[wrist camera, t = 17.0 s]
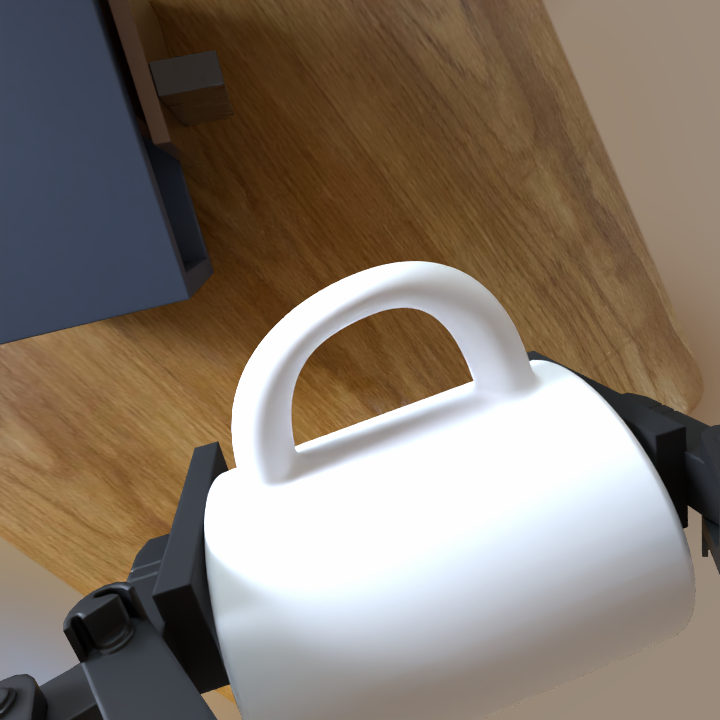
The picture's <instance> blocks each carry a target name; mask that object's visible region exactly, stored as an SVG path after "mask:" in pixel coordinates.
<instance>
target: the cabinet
mask: <svg viewBox="0 0 720 720" xmlns="http://www.w3.org/2000/svg"><path fill="white" fill-rule="evenodd" d="M213 273H214V271H213V268H212V264H211V261H210V258H209V254H208V251H207V248H206V245H205V241H204V238H203V235H202V231H201V228H200V225H199V222H198V218H197V215H196V212H195V209H194V205H193V202H192V199H191V195H190V192H189V189H188V186H187V182H186V179H185V176H184V172H183V169H182V166H181V163H180V161H178V160H177V159H175V158H174V157H172V156H171V155H169V154H168V153H166V152H164V151H163V150H161V149H160V148H158V147H157V146H155V145H154V144H153V141H152V138H151V135H150V132H149V129H148V126H147V122H146V119H145V116H144V113H143V110H142V107H141V104H140V100H139V97H138V94H137V91H136V88H135V85H134V82H133V78H132V75H131V72H130V69H129V66H128V63H127V59H126V56H125V53H124V50H123V47H122V44H121V41H120V37H119V34H118V31H117V28H116V25H115V22H114V19H113V15H112V12H111V9H110V6H109V3H108V0H0V345H1V344H5V343H9V342H13V341H17V340H21V339H26V338H30V337H34V336H38V335H42V334H47V333H51V332H55V331H59V330H63V329H67V328H72V327H76V326H80V325H84V324H88V323H92V322H97V321H101V320H105V319H109V318H113V317H117V316H122V315H126V314H130V313H134V312H138V311H143V310H147V309H151V308H155V307H159V306H163V305H168V304H172V303H176V302H180V301H184V300H188V299H190V298H191V297H192V296H193V295H194V294H195V293H196V292H197V290H198V289H199V288H200V287H201V286H202V285H203V284H204V283H205V282H206V281H207V280H208V278H209V277H210V276H211V275H212V274H213Z"/></svg>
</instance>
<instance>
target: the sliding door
mask: <svg viewBox="0 0 720 720" xmlns="http://www.w3.org/2000/svg"><path fill="white" fill-rule="evenodd" d="M108 3H109V6H110V9H111V12H112V15H113V19H114V22H115V25H116V28H117V31H118V34H119V37H120V41H121V44H122V47H123V50H124V53H125V56H126V59H127V63H128V66H129V69H130V72H131V75H132V78H133V82H134V85H135V88H136V91H137V94H138V97H139V100H140V104H141V107H142V110H143V113H144V116H145V119H146V122H147V126H148V129H149V132H150V135H151V138H152V141H153V144H154V145H155V146H157V147H158V148H160V149H161V150H163V151H164V152H166V153H168V154H169V155H171V156H172V157H174V158H175V159H177V160H178V161H180V162H182V163H183V164H185V165H186V166H188V167H189V168H192V167H197V166H201V163H200V159H199V156H198V152H197V149H196V146H195V142H194V139H193V135H192V132H191V128H190V126H193V125H198V124H203V123H208V122H213V121H218V120H223V119H228V118H233V117H234V116H235V115H234V112H233V108H232V104H231V100H230V97H229V93H228V90H227V86H226V83H225V80H224V76H223V73H222V69H221V66H220V63H219V59H218V56H217V53H216V51H215V50H212V51H207V52H201V53H196V54H191V55H185V56H180V57H174V58H170V57H169V53H168V50H167V47H166V43H165V40H164V36H163V33H162V29H161V26H160V23H159V20H158V18H157V16H156V14H155V12H154V10H153V9H152V7H151V5H150V3H149V1H148V0H108Z"/></svg>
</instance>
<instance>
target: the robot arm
mask: <svg viewBox="0 0 720 720" xmlns="http://www.w3.org/2000/svg"><path fill="white" fill-rule="evenodd" d="M527 355H528V359H529V361H532V360H543V361H549V362H552V363H555V364H558V365H560V366H562V367H564V368H566V369H568V370H569V371H571V372H573V373H574V374H576V375H577V376H579V377H580V378H581V379H583V380H584V381H585V382H586V383H588V384H589V385H590V386H591V387H592V388H593V389H594V390H595V391H597V392H598V393H599V394H600V395H601V396H602V397H603V398H604V399H605V400H606V401H607V403H608V404H609V405H610V406H611V407H612V408H613V409H614V410H615V411H616V413H617V414H618V415H619V416H620V417H621V419H622V420H623V421H624V422H625V424H626V425H627V426H628V428H629V429H630V430H631V432H632V433H633V434H634V436H635V437H636V439H637V440H638V442H639V443H640V444H641V446H642V448H643V449H644V451H645V452H646V454H647V455H648V457H649V459H650V460H651V462H652V464H653V465H654V467H655V469H656V471H657V472H658V474H659V476H660V478H661V480H662V482H663V484H664V486H665V487H666V489H667V492H668V494H669V496H670V498H671V500H672V502H673V504H674V507H675V509H676V512H677V514H678V517H679V519H680V522H681V525H682V527H683V528H686V527H688V507H687V506H690V507H691V508H693V509H694V510H696V511H697V512H699V513H700V514H702V556H703V557H708V550H709V549H710V551H711V554H712V556H713V559H714V561H715V564H716V566H717V569H718V571H719V574H720V425H715V426H712V427H710V426H708V425H706V424H704V423H702V422H700V421H698V420H695V419H693V418H691V417H689V416H687V415H685V414H683V413H681V412H678V411H674V409H672V408H670V407H668V406H666V405H663V406H662V404H661V403H659V402H657V401H655V400H653V399H651V398H649V397H646V396H641V395H637V394H632V393H625V394H620V393H618V392H616V391H614V390H612V389H610V388H608V387H606V386H604V385H602V384H600V383H598V382H596V381H594V380H592V379H590V378H588V377H586V376H584V375H582V374H580V373H578V372H576V371H574V370H572V369H569V368H567V367H565V366H563V365H561V364H559V363H557V362H555V361H553V360H551V359H549V358H547V357H545V356H543V355H541V354H539V353H537V352H535V351H531V352H528V353H527ZM227 471H229V470H228V468H227V465H226V462H225V459H224V456H223V454H222V451H221V448H220V445H219V442H214V443H211V444H207V445H204V446H201V447H197V448H195V449H194V453H193V456H192V460H191V463H190V466H189V470H188V473H187V477H186V480H185V484H184V487H183V490H182V494H181V497H180V501H179V504H178V508H177V511H176V514H175V518H174V521H173V525H172V528H171V532H170V534H167V535H164V536H160V537H157V538H154V539H150V540H149V541H148V542H147V543H146V544H145V545H144V547H143V548H142V549H141V550H140V551H139V553H138V554H137V555H136V558H135V560H134V563H133V566H132V568H131V572H130V574H129V576H128V579H127V582H115V583H112V584H108V585H105V586H103V587H101V588H99V589H97V590H95V591H93V592H91V593H90V594H89V595H87V596H86V597H84V598H83V599H82V600H80V601H79V602H78V603H77V604H76V605H75V606H74V607H73V608H72V610H71V611H70V612H69V613H68V615H67V617H66V619H65V621H64V624H63V625H64V626H63V627H64V628H63V631H64V633H65V635H66V637H67V639H68V640H69V642H70V644H71V646H72V648H73V650H74V652H75V653H76V655H77V657H78V659H79V661H80V663H79V664H77V665H76V666H74V667H73V668H71V669H70V670H68V671H66V672H64V673H63V674H61V675H59V676H57V677H56V678H54V679H52V680H50V681H48V682H47V683H45V684H43V685H42V686H38V684H37V682H36V681H35V679H34V678H33V677H31V676H30V675H28V674H23V675H14V676H12V677H9V678H7V679H4V680H2V681H0V720H217V718H216V717H215V715H214V714H213V712H212V711H211V709H210V708H209V706H208V705H207V703H206V702H205V700H204V699H203V698H202V696H201V695H200V694H202V693H205V692H209V691H211V690H214V689H217V688H220V687H223V686H226V685H229V684H230V682H229V679H228V675H227V672H226V668H225V665H224V661H223V657H222V653H221V649H220V645H219V640H218V636H217V632H216V627H215V622H214V617H213V612H212V606H211V600H210V594H209V586H208V579H207V570H206V559H205V541H204V523H205V510H206V503H207V498H208V494H209V491H210V488H211V486H212V484H213V482H214V481H215V480H216V478H217V477H218V476H219V475H221V474H222V473H224V472H227Z"/></svg>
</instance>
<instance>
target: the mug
mask: <svg viewBox="0 0 720 720" xmlns="http://www.w3.org/2000/svg"><path fill="white" fill-rule="evenodd" d="M394 308H414V309H418V310H421V311H424V312H426V313H428V314H430V315H432V316H433V317H435V318H436V319H437V320H439V321H440V322H441V323H442V324H443V325H444V326H445V327H446V328H447V330H448V331H449V332H450V333H451V335H452V336H453V338H454V339H455V341H456V342H457V344H458V346H459V348H460V349H461V351H462V353H463V355H464V358H465V360H466V362H467V364H468V367H469V370H470V372H471V375H472V378H473V380H474V381H473V382H470V383H467V384H464V385H462V386H459V387H456V388H453V389H451V390H448V391H445V392H443V393H440V394H437V395H434V396H432V397H429V398H426V399H423V400H421V401H418V402H415V403H413V404H410V405H407V406H404V407H402V408H399V409H396V410H393V411H391V412H388V413H385V414H382V415H380V416H377V417H374V418H372V419H369V420H366V421H363V422H361V423H358V424H355V425H352V426H350V427H347V428H344V429H342V430H339V431H336V432H333V433H331V434H328V435H325V436H322V437H320V438H317V439H314V440H312V441H309V442H306V443H303V444H301V445H298V446H295V444H294V439H293V432H292V423H291V406H292V397H293V392H294V387H295V384H296V381H297V378H298V375H299V373H300V371H301V369H302V367H303V365H304V364H305V362H306V360H307V359H308V358H309V356H310V355H311V354H312V353H313V351H314V350H315V349H316V348H317V347H318V346H319V345H320V344H321V343H323V342H324V341H325V340H326V339H328V338H329V337H330V336H332V335H333V334H335V333H336V332H338V331H339V330H341V329H343V328H344V327H346V326H348V325H350V324H352V323H354V322H356V321H358V320H360V319H362V318H365V317H367V316H369V315H372V314H375V313H378V312H381V311H384V310H389V309H394ZM232 440H233V449H234V455H235V460H236V465H237V468H235V469H232V470H230V471H227V472H224V473H222V474H221V475H219V476H218V477H217V478H216V480H215V481H214V482H213V484H212V486H211V488H210V491H209V494H208V498H207V503H206V510H205V523H204V541H205V559H206V570H207V579H208V586H209V594H210V600H211V606H212V612H213V617H214V622H215V627H216V632H217V636H218V640H219V645H220V649H221V653H222V657H223V661H224V665H225V668H226V672H227V675H228V679H229V682H230V685H231V689H232V692H233V695H234V698H235V701H236V704H237V707H238V709H239V712H240V715H241V718H242V720H482V719H484V718H487V717H489V716H491V715H494V714H496V713H498V712H500V711H503V710H505V709H508V708H510V707H512V706H514V705H517V704H519V703H521V702H524V701H526V700H528V699H531V698H533V697H535V696H537V695H540V694H542V693H544V692H546V691H549V690H551V689H554V688H556V687H558V686H561V685H563V684H565V683H567V682H570V681H572V680H575V679H577V678H579V677H581V676H584V675H586V674H588V673H591V672H593V671H595V670H598V669H600V668H602V667H605V666H607V665H609V664H611V663H614V662H616V661H618V660H621V659H623V658H625V657H628V656H630V655H632V654H635V653H637V652H639V651H642V650H644V649H646V648H649V647H651V646H653V645H655V644H658V643H660V642H662V641H664V640H667V639H669V638H672V637H674V636H676V635H678V634H679V633H680V632H682V631H683V630H684V629H685V628H686V626H687V625H688V623H689V621H690V619H691V616H692V614H693V610H694V605H695V592H696V589H695V577H694V569H693V564H692V559H691V554H690V550H689V546H688V543H687V540H686V536H685V533H684V531H683V527H682V525H681V522H680V519H679V517H678V514H677V512H676V509H675V507H674V504H673V502H672V500H671V498H670V496H669V494H668V492H667V489H666V487H665V486H664V484H663V482H662V480H661V478H660V476H659V474H658V472H657V471H656V469H655V467H654V465H653V464H652V462H651V460H650V459H649V457H648V455H647V454H646V452H645V451H644V449H643V448H642V446H641V444H640V443H639V442H638V440H637V439H636V437H635V436H634V434H633V433H632V432H631V430H630V429H629V428H628V426H627V425H626V424H625V422H624V421H623V420H622V419H621V417H620V416H619V415H618V414H617V413H616V411H615V410H614V409H613V408H612V407H611V406H610V405H609V404H608V403H607V401H606V400H605V399H604V398H603V397H602V396H601V395H600V394H599V393H598V392H597V391H595V390H594V389H593V388H592V387H591V386H590V385H589V384H588V383H586V382H585V381H584V380H583V379H581V378H580V377H579V376H577V375H576V374H574V373H573V372H571V371H569V370H568V369H566V368H564V367H562V366H560V365H558V364H555V363H552V362H549V361H543V360H532V361H529V359H528V355H527V353H526V350H525V348H524V345H523V343H522V341H521V338H520V336H519V334H518V332H517V330H516V328H515V326H514V324H513V322H512V320H511V319H510V317H509V315H508V314H507V312H506V311H505V309H504V308H503V307H502V305H501V304H500V303H499V301H498V300H497V299H496V298H495V297H494V296H493V294H492V293H491V292H490V291H489V290H488V289H486V288H485V287H484V286H483V285H482V284H481V283H479V282H478V281H477V280H475V279H474V278H472V277H471V276H469V275H467V274H466V273H464V272H462V271H460V270H457V269H455V268H452V267H449V266H446V265H442V264H438V263H432V262H422V261H408V262H397V263H392V264H386V265H382V266H378V267H374V268H370V269H367V270H365V271H362V272H359V273H356V274H354V275H351V276H349V277H347V278H344V279H342V280H340V281H338V282H336V283H334V284H332V285H330V286H328V287H326V288H325V289H323V290H321V291H319V292H318V293H316V294H314V295H313V296H311V297H310V298H308V299H307V300H305V301H304V302H303V303H301V304H300V305H299V306H297V307H296V308H295V309H293V310H292V311H291V312H290V313H289V314H287V315H286V316H285V317H284V318H283V319H282V320H281V321H280V322H279V323H278V324H277V325H276V326H275V327H274V328H273V329H272V330H271V331H270V332H269V333H268V334H267V336H266V337H265V338H264V339H263V340H262V342H261V343H260V344H259V346H258V347H257V349H256V350H255V352H254V353H253V355H252V356H251V358H250V360H249V362H248V364H247V365H246V367H245V370H244V372H243V374H242V376H241V379H240V382H239V385H238V388H237V391H236V395H235V400H234V405H233V413H232Z"/></svg>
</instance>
